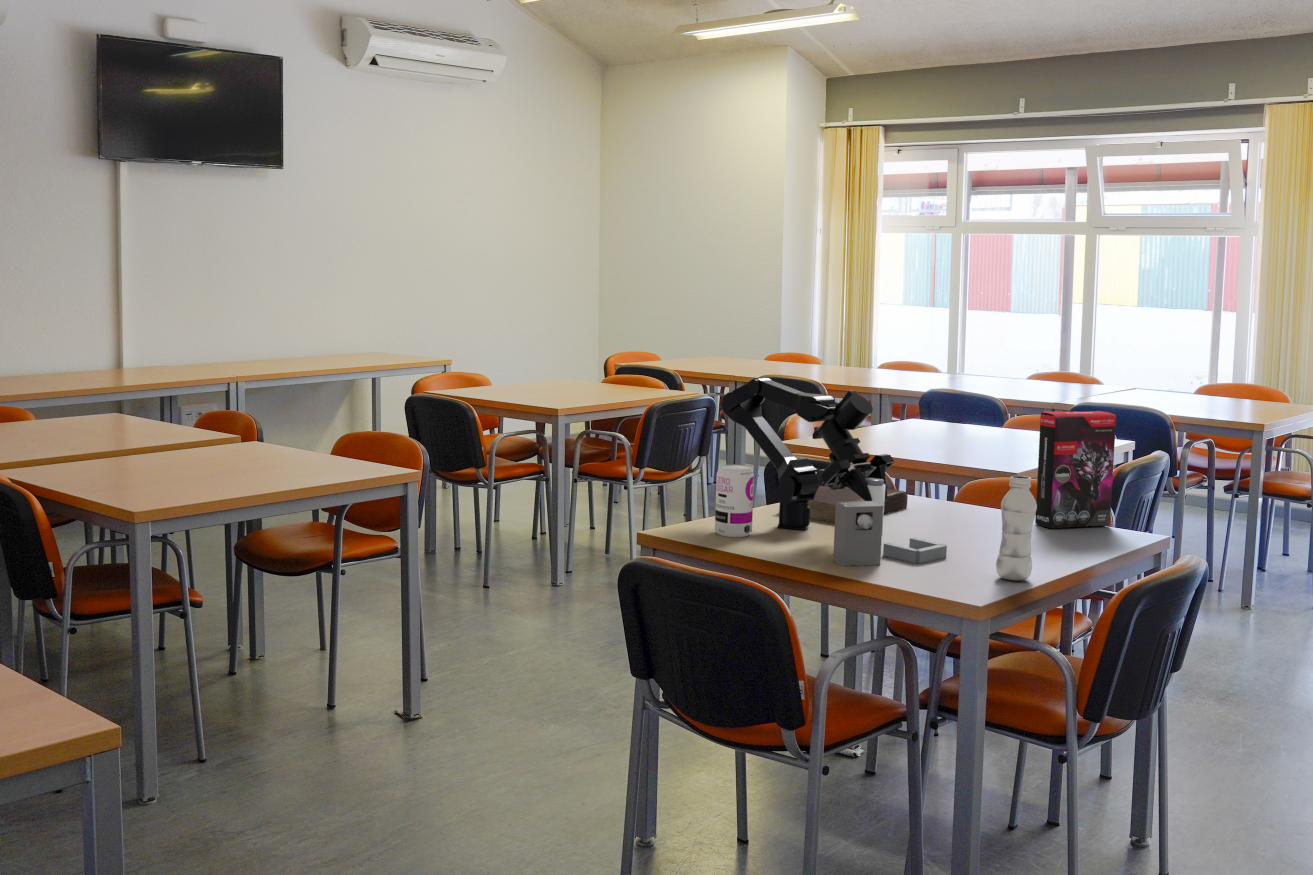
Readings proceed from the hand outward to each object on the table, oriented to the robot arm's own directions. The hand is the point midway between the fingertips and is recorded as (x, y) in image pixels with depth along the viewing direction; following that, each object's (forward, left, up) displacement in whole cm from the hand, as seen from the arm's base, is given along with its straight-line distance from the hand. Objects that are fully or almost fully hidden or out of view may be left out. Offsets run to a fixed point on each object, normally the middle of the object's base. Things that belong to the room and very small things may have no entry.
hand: (878, 500), depth 243 cm
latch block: (-3, -16, -10) cm, 19 cm away
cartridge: (-1, +1, -8) cm, 8 cm away
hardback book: (-9, +38, -11) cm, 41 cm away
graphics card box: (+44, +38, -10) cm, 60 cm away
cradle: (+8, -6, -10) cm, 14 cm away
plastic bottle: (+27, -20, -10) cm, 35 cm away
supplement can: (-31, +2, -10) cm, 33 cm away
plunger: (-4, -15, -3) cm, 16 cm away
